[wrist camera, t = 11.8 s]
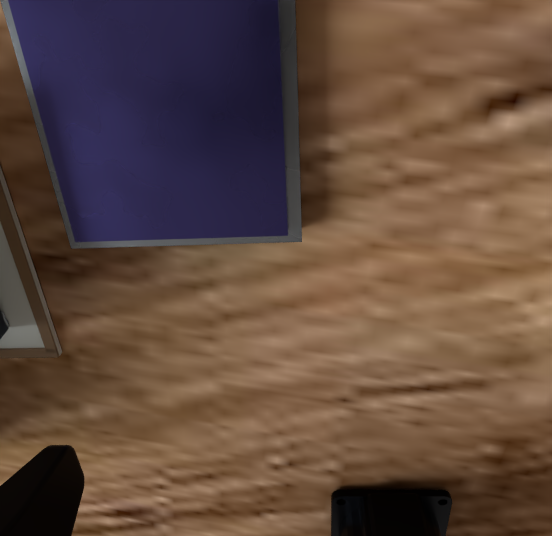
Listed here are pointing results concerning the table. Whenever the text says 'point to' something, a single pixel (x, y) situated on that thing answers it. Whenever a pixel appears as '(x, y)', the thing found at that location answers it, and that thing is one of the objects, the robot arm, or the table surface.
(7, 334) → the card
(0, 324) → the box
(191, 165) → the ink pad
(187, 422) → the table surface
